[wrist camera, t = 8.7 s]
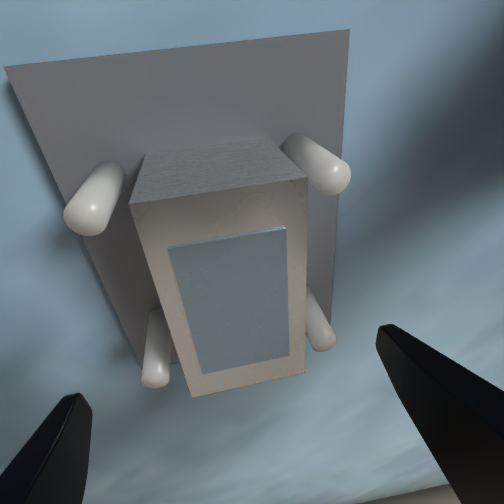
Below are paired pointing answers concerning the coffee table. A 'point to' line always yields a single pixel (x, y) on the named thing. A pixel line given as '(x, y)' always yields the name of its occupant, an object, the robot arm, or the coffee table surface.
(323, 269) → the pegged base plate
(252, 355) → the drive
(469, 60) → the coffee table surface
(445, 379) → the robot arm
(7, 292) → the coffee table surface
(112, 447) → the coffee table surface
